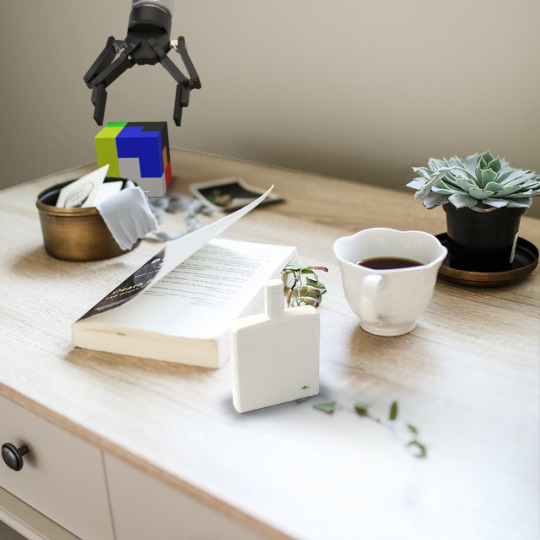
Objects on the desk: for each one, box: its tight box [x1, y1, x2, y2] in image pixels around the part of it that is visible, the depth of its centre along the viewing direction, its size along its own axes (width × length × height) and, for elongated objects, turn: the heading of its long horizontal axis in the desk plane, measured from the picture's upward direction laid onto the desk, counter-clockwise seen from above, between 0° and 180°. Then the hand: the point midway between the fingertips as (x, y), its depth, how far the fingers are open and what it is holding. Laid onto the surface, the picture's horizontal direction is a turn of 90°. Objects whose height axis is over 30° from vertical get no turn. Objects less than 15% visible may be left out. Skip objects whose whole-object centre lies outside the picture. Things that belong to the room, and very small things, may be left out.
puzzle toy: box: [94, 120, 173, 198], centre depth 112 cm, size 10×10×10 cm
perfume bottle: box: [228, 278, 321, 414], centre depth 59 cm, size 8×2×12 cm, turn 110°
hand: (137, 122), depth 113 cm, fingers open, 13 cm apart
